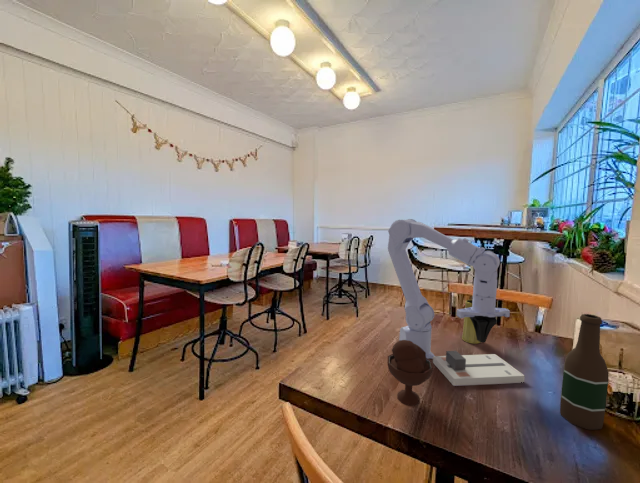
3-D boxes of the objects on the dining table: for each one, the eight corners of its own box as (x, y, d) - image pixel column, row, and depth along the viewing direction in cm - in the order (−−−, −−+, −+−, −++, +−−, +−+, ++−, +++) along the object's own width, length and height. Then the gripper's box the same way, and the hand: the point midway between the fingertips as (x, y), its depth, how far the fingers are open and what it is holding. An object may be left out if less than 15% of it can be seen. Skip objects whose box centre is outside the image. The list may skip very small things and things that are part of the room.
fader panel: (453, 385, 79) (454, 378, 78) (432, 362, 90) (433, 356, 90) (524, 382, 80) (524, 375, 80) (494, 360, 92) (495, 353, 92)
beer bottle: (594, 436, 61) (607, 325, 59) (551, 413, 68) (561, 313, 65) (610, 424, 65) (623, 319, 62) (567, 403, 72) (578, 307, 69)
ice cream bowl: (426, 419, 66) (429, 355, 64) (379, 401, 72) (380, 343, 70) (436, 394, 75) (438, 337, 73) (393, 380, 81) (394, 328, 79)
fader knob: (454, 369, 82) (455, 359, 82) (445, 360, 87) (446, 351, 87) (465, 369, 82) (465, 359, 82) (455, 360, 87) (456, 350, 87)
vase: (479, 345, 102) (482, 305, 100) (460, 340, 105) (462, 302, 104) (482, 339, 107) (484, 301, 105) (463, 335, 110) (466, 298, 109)
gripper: (467, 299, 78) (464, 348, 80) (519, 298, 80) (515, 346, 81) (453, 292, 85) (451, 337, 87) (501, 291, 86) (497, 335, 88)
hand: (481, 340), depth 84 cm, fingers closed
